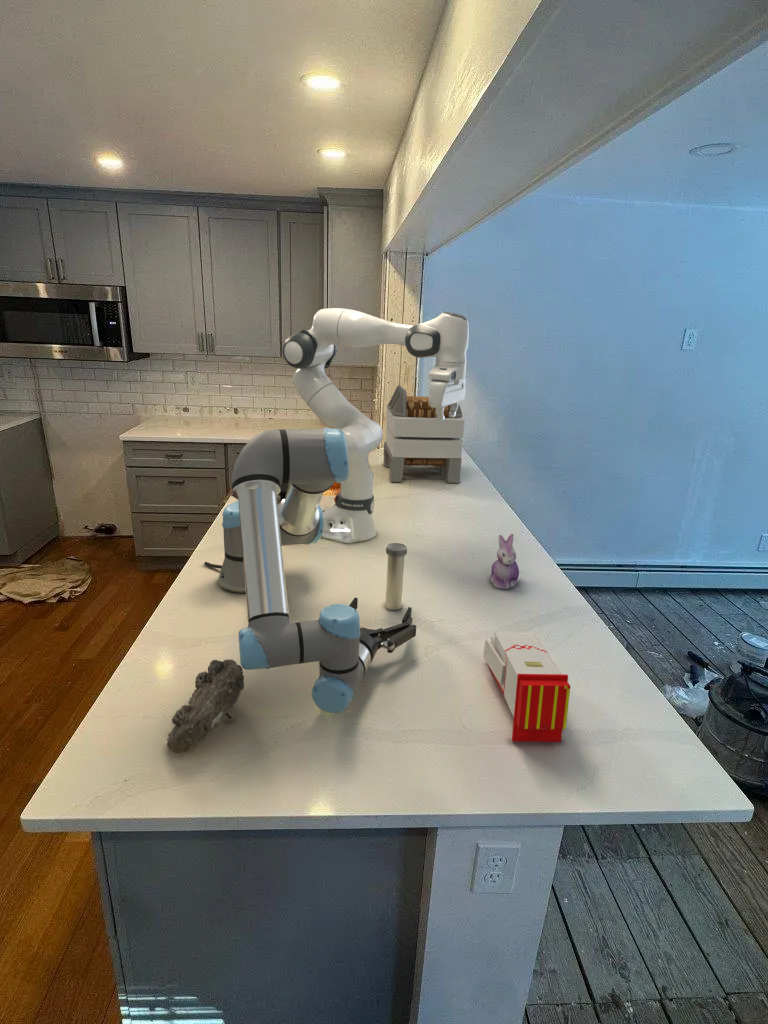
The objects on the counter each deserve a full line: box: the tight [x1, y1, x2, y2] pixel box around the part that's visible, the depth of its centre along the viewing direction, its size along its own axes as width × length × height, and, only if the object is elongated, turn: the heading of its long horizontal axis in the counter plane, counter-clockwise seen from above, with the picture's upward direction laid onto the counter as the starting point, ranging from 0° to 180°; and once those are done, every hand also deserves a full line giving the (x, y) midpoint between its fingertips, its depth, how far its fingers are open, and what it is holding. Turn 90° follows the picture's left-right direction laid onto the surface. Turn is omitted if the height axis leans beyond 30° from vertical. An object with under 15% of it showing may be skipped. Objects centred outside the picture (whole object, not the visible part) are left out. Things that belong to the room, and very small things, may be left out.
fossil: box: [166, 658, 245, 754], centre depth 106 cm, size 22×10×15 cm
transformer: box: [383, 384, 465, 484], centre depth 268 cm, size 34×33×41 cm
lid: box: [385, 542, 408, 557], centre depth 146 cm, size 5×5×2 cm
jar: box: [385, 554, 405, 611], centre depth 148 cm, size 4×4×17 cm
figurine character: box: [276, 484, 289, 504], centre depth 223 cm, size 7×8×15 cm
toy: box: [482, 632, 571, 743], centre depth 116 cm, size 12×13×30 cm
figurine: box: [490, 533, 520, 590], centre depth 164 cm, size 9×10×15 cm
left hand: (382, 607), depth 138 cm, fingers open, 13 cm apart
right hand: (446, 419), depth 169 cm, fingers open, 8 cm apart
